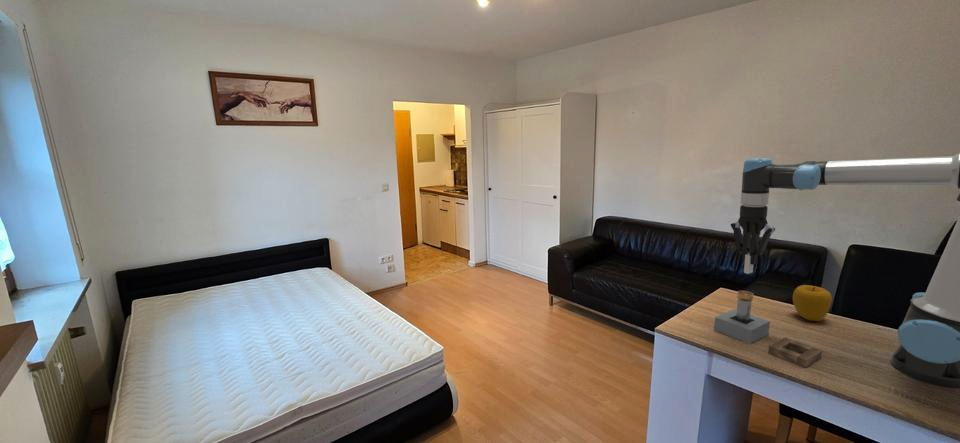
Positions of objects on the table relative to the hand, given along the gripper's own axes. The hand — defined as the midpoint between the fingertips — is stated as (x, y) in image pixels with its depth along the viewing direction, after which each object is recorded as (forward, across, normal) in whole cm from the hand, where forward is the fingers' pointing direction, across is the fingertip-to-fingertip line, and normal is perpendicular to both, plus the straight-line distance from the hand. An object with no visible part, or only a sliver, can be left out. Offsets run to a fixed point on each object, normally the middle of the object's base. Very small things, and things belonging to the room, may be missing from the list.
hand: (748, 272), depth 133 cm
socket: (+23, +1, 0) cm, 23 cm away
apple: (+23, -7, -31) cm, 39 cm away
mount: (+23, -16, +2) cm, 28 cm away
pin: (+23, +1, 0) cm, 23 cm away
